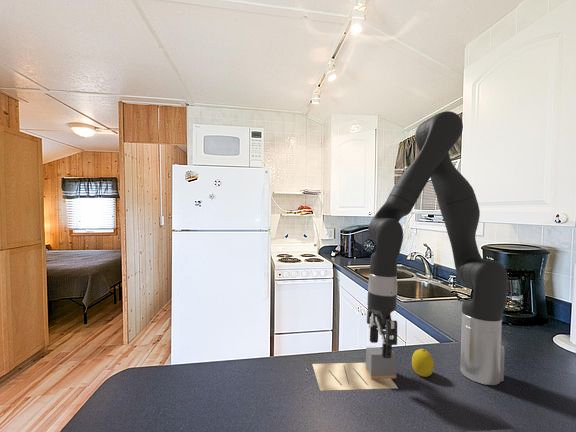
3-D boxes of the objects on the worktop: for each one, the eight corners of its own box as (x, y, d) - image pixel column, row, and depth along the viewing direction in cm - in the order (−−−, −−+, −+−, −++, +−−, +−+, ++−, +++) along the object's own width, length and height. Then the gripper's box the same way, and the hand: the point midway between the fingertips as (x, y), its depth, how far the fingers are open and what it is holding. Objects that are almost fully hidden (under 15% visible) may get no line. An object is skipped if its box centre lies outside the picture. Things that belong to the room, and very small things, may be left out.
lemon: (430, 373, 78) (431, 345, 78) (435, 385, 73) (436, 355, 73) (409, 370, 80) (410, 343, 80) (413, 381, 74) (413, 352, 74)
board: (378, 366, 81) (378, 362, 81) (397, 392, 69) (398, 387, 69) (312, 368, 80) (312, 363, 80) (320, 395, 68) (320, 390, 68)
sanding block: (389, 369, 78) (390, 347, 77) (396, 378, 74) (396, 354, 73) (365, 370, 77) (366, 347, 77) (370, 379, 73) (371, 354, 73)
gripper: (408, 299, 68) (406, 363, 68) (384, 284, 82) (382, 337, 83) (379, 298, 68) (376, 363, 68) (360, 283, 82) (357, 337, 82)
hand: (379, 349), depth 75 cm, fingers open, 8 cm apart
